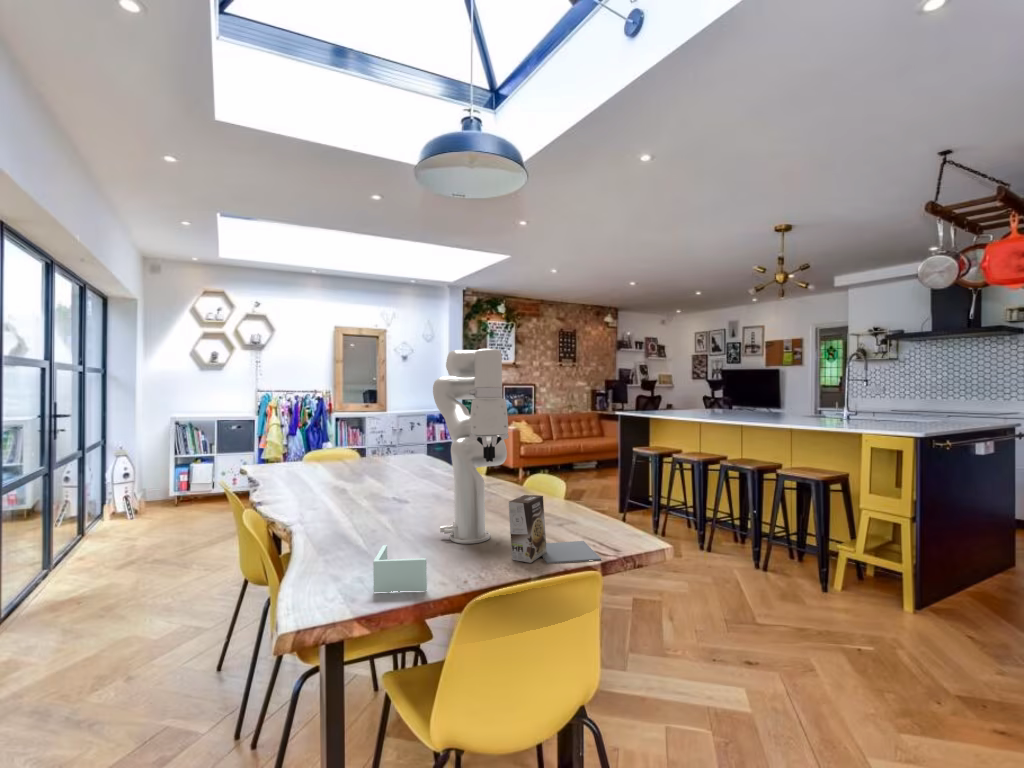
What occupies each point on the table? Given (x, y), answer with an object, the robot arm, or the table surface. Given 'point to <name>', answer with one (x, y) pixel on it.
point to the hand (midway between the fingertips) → (489, 460)
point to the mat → (569, 552)
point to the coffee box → (527, 528)
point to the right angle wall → (398, 573)
